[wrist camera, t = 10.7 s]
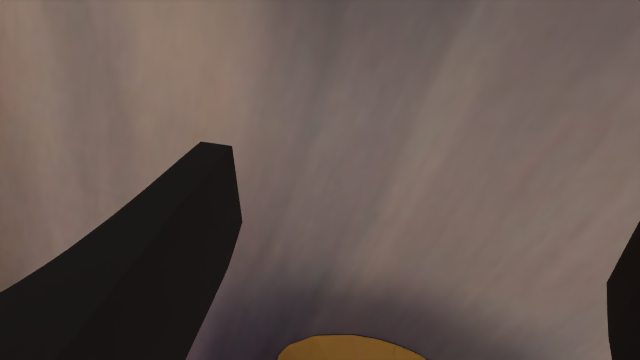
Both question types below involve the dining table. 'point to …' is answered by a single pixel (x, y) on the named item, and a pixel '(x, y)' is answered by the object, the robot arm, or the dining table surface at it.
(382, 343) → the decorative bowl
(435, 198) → the dining table surface
